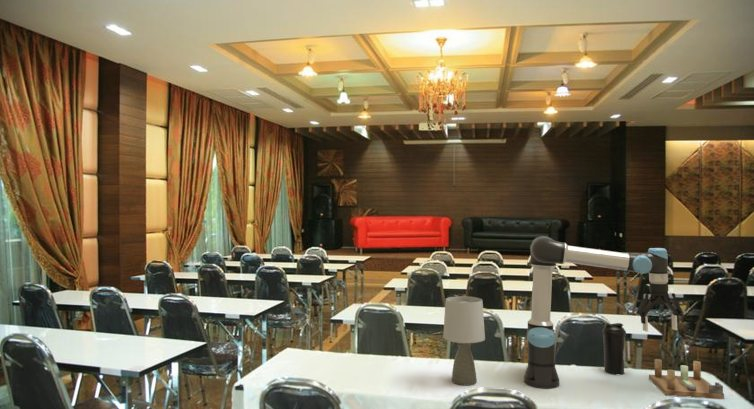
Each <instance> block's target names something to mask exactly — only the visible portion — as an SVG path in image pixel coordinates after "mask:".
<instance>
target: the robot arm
mask: <svg viewBox="0 0 754 409" xmlns="http://www.w3.org/2000/svg"><path fill="white" fill-rule="evenodd" d="M529 251H530V259H529V262H530V263H529V264H530V266H531V267H532V268H533V270H532V273H533V274H532V290H531V291H532V293H531V294H532V295H531V312H530V313H531V316H530V319H529V320H527V328H526V329H527V331H526V335H525V337H526V342H527V366H526V369H525V373H524V374H523V383H524V384H526V385H527V386H529V387H534V388H539V389H554V388H557V387H559V386H560V377H559V375H558V371H557V368H556V335H555V332H554V322H552V321H551V313H552V311H551V310H552V308H551V307H552V306H551V305H552V287H553V283H552V282H553V269H554V268H556V267H557V265H558V264H559V265H564V264H565V263H569V264H576V265H583V266H584V265H585V266H588V267H589V266H590V267H596V268H604V269H605V268H606V269H612V270H619V271H627V272H631V273H638V274H647V273H648V280H649V284H648V286H649V294H648V293H643V294H642V298H641V301H640V304H639V306H638V308H637V310H636V313H635V314H637V315H638V316H640V322H641V324H642V331H644V332H646V333H647V332H649V324H648V322H649V321H648V316H647V315H648V314H649V313H650V311H651V310H652V308H653V307H654V306H655V305H659V304H661V305H665V306H666V307H667V308H668V309H669V310H670V312H671V313H672V314H671V330H673V331H678V323H679V319H680V318H679V316H680V315H682V314H683V313H684V311H683V310H682V308H681V306H680V304H679V302H678V300H677V297H676V293H674V292H669V271H668V269H669V267H668V260H669V257H668V251H667V249H666V248H663V247H654V248H653V247H650V248H648V250H647V252H619V251H612V250H605V249H597V248H589V247H582V246H576V245H575V246H574V245H568V244H567V243H566V242H563V241H562V242H561V241H557V240H554V239H553V238H551V237H549V236H544V235H543V236H542V235H541V236H538V237H535V238H534V239H533V240H532V242H531V243H530V246H529ZM668 299H670V300H671V302H670V301H669V300H668Z"/></svg>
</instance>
